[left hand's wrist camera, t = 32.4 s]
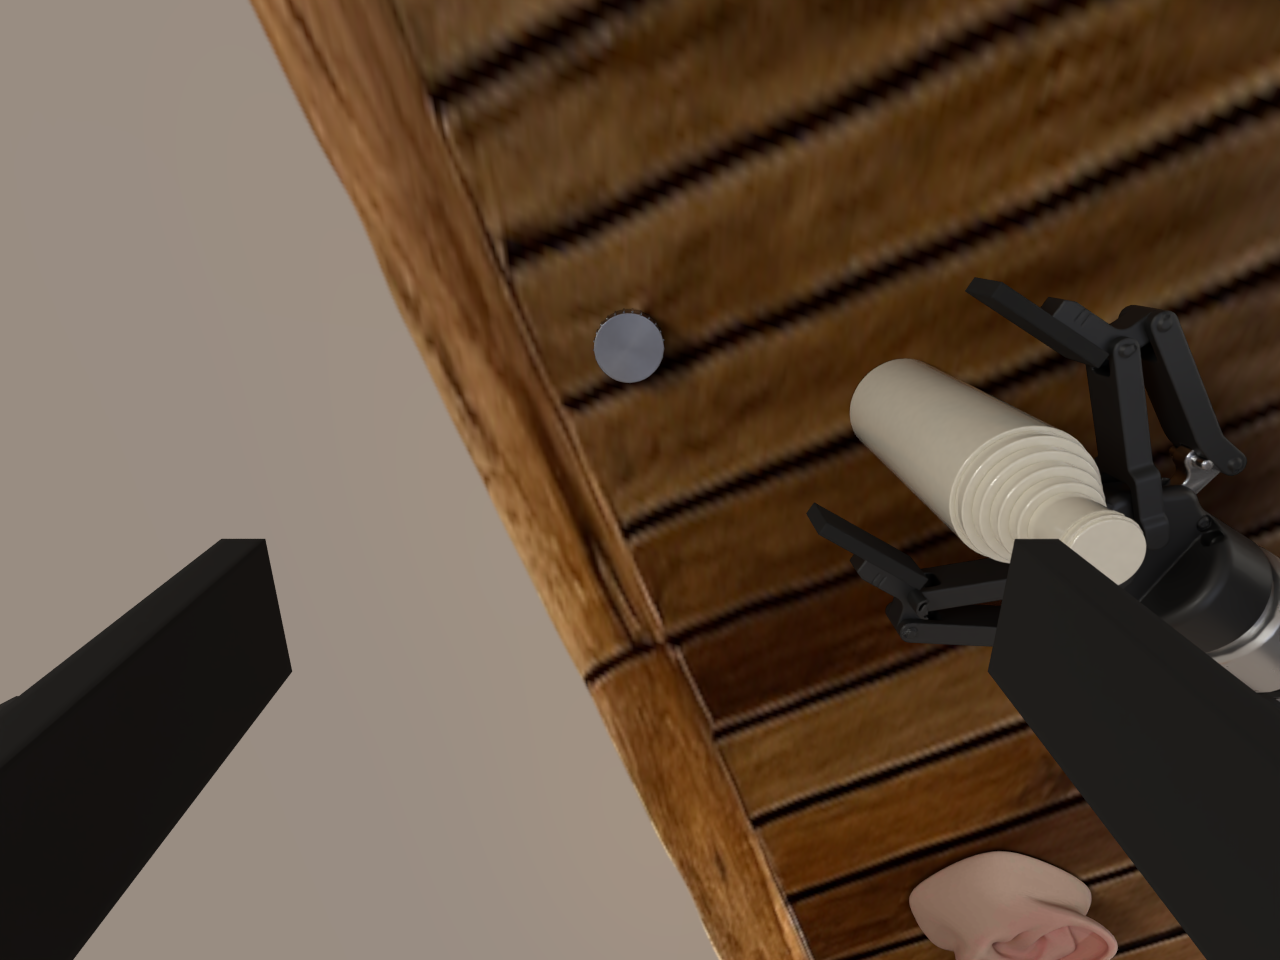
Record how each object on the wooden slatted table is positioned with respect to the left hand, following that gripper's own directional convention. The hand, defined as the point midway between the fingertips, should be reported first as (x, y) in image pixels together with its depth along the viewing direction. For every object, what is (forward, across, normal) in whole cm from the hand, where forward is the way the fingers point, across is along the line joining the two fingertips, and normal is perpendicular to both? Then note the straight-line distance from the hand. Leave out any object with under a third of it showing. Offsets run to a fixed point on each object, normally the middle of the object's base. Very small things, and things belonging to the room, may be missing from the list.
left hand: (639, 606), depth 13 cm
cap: (+28, -1, 0) cm, 28 cm away
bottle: (+30, +15, -4) cm, 34 cm away
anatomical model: (+29, +28, -44) cm, 60 cm away
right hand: (+23, +13, -2) cm, 27 cm away
